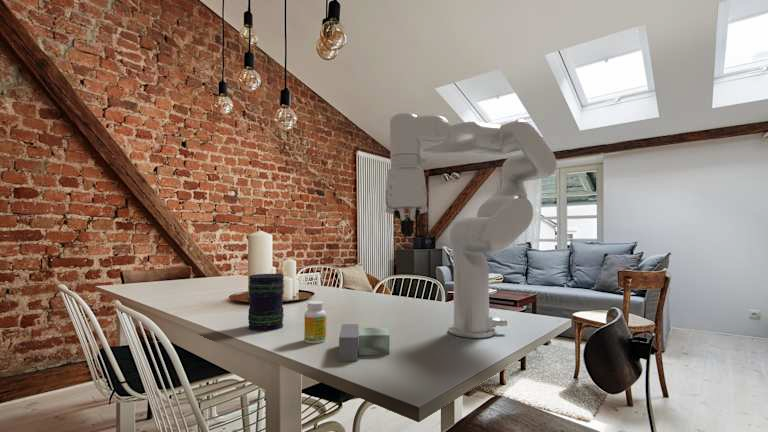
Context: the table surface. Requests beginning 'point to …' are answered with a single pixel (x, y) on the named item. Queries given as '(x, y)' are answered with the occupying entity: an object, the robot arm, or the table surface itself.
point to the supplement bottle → (315, 323)
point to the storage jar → (266, 302)
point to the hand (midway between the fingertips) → (407, 236)
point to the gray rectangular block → (348, 342)
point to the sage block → (374, 341)
